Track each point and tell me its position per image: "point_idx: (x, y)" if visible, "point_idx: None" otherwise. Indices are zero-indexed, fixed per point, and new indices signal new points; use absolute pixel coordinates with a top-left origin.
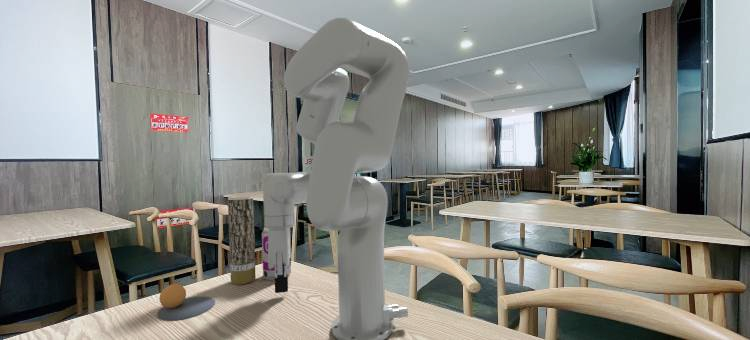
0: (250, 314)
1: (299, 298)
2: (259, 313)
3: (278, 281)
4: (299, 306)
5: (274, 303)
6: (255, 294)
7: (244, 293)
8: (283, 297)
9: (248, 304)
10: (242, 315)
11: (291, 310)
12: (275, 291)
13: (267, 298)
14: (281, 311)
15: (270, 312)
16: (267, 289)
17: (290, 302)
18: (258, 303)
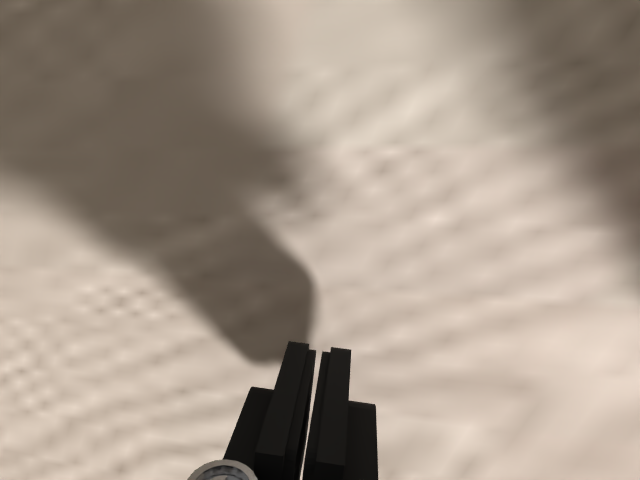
0: (52, 101)
1: None
2: (55, 175)
3: (227, 455)
4: (105, 445)
5: (209, 297)
6: (494, 140)
7: (593, 13)
8: None
9: (266, 74)
10: (46, 29)
11: (56, 392)
12: (289, 348)
13: (337, 249)
14: (55, 331)
15: (55, 257)
16: (568, 259)
17: (189, 404)
18: (255, 169)
